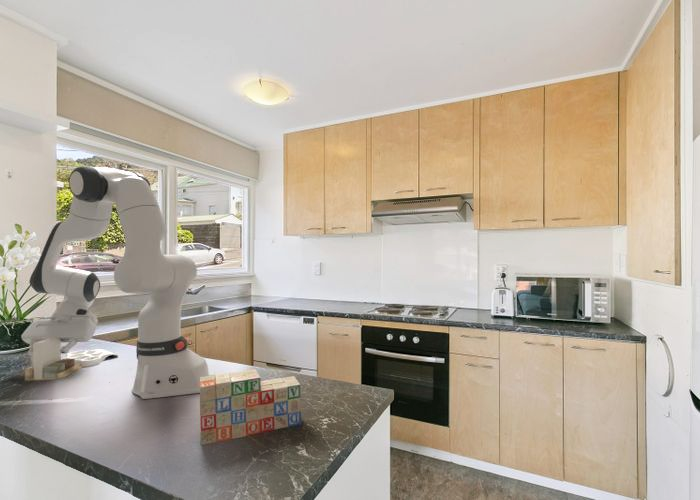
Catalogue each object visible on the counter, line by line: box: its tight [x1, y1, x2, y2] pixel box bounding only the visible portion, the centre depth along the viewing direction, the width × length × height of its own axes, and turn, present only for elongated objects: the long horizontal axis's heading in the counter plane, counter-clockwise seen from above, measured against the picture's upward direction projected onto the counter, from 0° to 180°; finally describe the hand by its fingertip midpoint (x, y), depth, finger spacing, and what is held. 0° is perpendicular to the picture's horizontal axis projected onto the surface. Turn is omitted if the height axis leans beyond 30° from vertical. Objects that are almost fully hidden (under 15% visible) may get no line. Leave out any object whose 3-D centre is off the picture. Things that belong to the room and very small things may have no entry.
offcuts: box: [43, 358, 75, 380], centre depth 113 cm, size 8×4×4 cm, turn 5°
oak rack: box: [24, 364, 83, 382], centre depth 113 cm, size 10×10×4 cm
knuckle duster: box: [65, 348, 119, 368], centre depth 127 cm, size 3×18×15 cm
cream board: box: [32, 338, 62, 379], centre depth 112 cm, size 8×2×11 cm, turn 5°
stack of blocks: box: [199, 368, 302, 446], centre depth 79 cm, size 21×6×12 cm, turn 113°
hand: (47, 353), depth 112 cm, fingers open, 8 cm apart
